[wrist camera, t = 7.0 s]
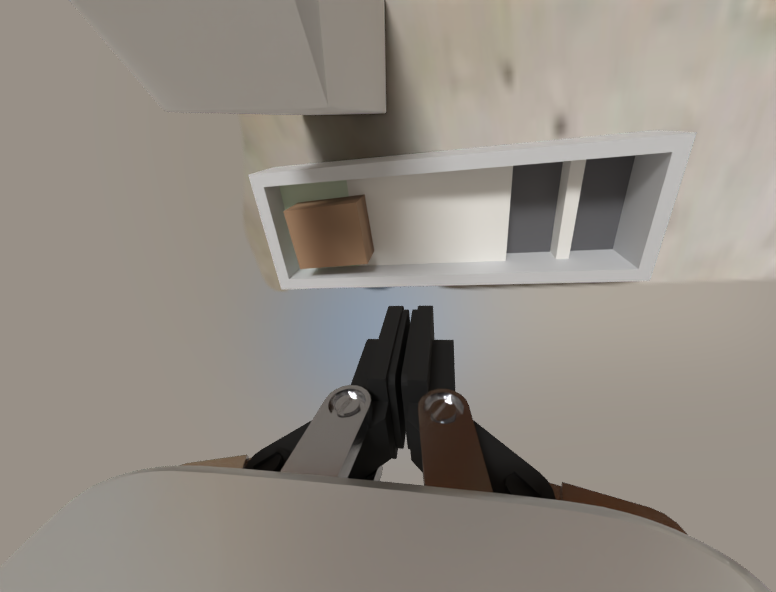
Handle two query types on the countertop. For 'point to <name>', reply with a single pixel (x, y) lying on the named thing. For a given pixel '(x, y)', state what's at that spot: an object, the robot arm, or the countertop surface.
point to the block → (330, 232)
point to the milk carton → (250, 53)
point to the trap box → (492, 211)
